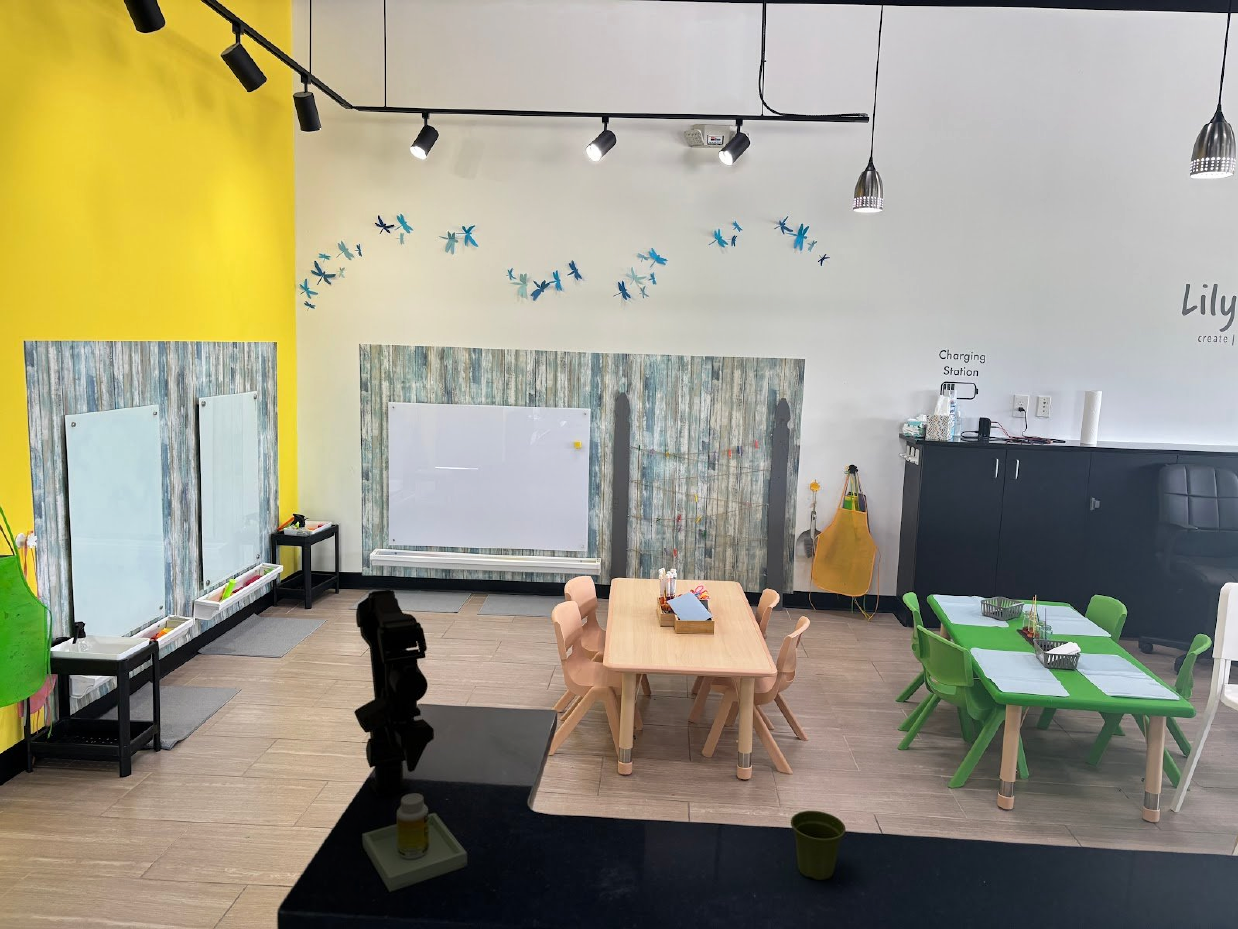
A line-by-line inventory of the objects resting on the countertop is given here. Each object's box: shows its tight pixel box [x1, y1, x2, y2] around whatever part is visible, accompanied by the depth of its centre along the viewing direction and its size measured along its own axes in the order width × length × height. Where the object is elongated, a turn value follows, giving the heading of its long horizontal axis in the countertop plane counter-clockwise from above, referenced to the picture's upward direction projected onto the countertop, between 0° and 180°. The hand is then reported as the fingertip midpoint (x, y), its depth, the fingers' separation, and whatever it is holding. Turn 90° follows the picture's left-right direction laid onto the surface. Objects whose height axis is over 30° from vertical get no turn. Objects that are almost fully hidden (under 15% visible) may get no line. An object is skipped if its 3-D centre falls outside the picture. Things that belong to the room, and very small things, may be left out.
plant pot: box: [790, 810, 846, 881], centre depth 151 cm, size 9×9×9 cm
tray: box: [362, 812, 468, 893], centre depth 155 cm, size 16×14×2 cm
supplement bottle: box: [396, 792, 429, 859], centre depth 155 cm, size 6×6×10 cm
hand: (403, 761), depth 164 cm, fingers open, 9 cm apart
